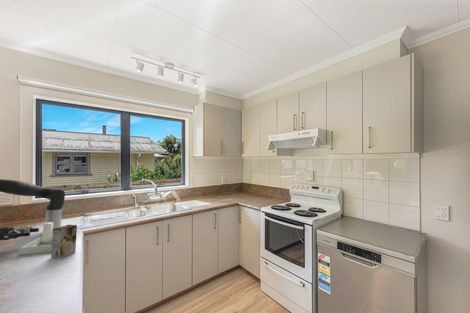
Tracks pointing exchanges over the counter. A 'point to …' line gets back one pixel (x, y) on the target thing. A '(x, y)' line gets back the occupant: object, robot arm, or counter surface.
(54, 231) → the coffee box
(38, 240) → the sage box
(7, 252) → the counter surface
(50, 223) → the white cylinder
